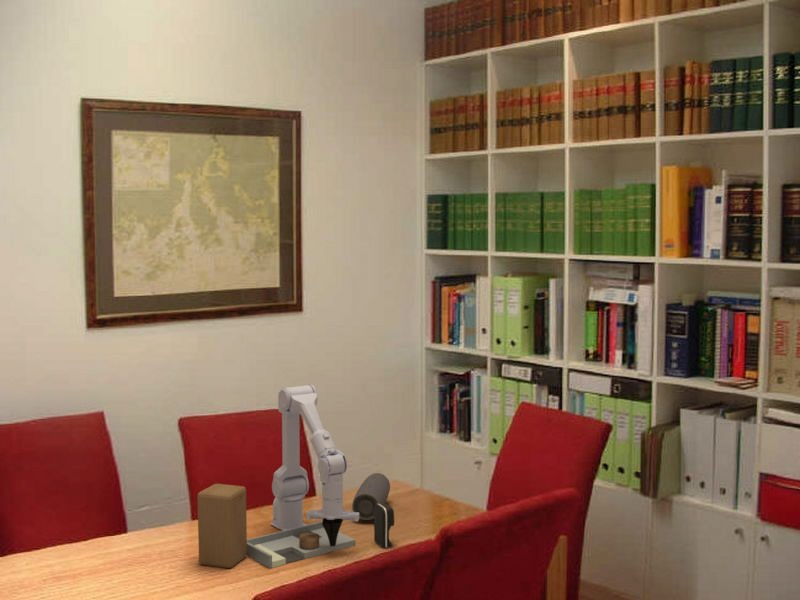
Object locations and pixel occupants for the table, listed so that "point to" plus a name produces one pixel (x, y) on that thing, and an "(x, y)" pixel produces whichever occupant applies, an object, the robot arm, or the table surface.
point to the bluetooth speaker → (371, 495)
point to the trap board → (292, 545)
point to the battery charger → (383, 524)
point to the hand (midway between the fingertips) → (333, 544)
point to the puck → (309, 541)
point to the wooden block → (222, 525)
